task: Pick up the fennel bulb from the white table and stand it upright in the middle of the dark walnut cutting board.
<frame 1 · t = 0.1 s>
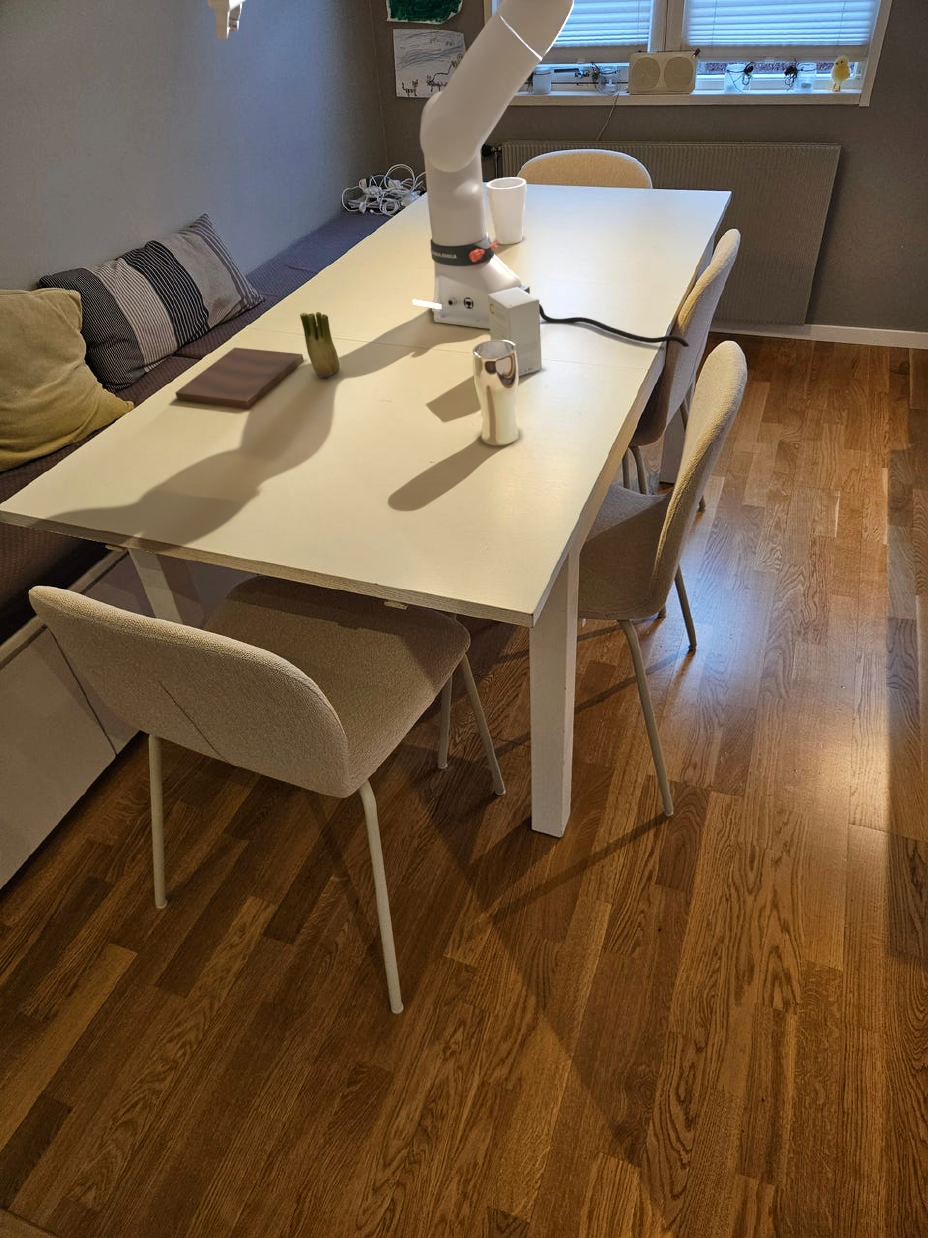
hand: (227, 34, 152), 52 cm above the table, tool tilted 20°, fingers open, 8 cm apart
fennel bulb: (327, 375, 165), on the table
beer glass: (500, 437, 141), on the table
foam cup: (509, 240, 214), on the table
small box: (516, 367, 160), on the table
cutting board: (242, 379, 167), on the table
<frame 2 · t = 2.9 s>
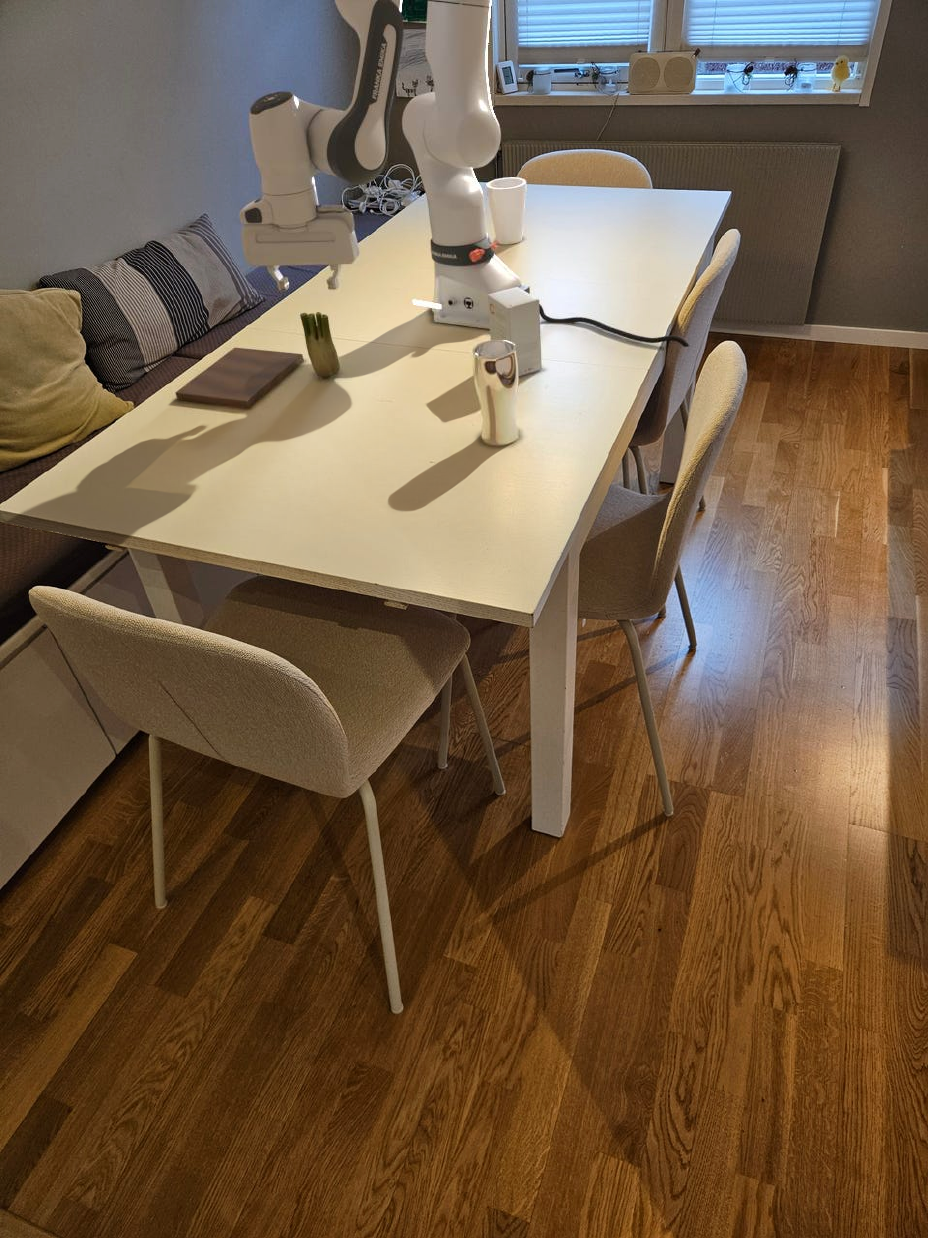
hand: (308, 288, 154), 16 cm above the table, tool pointing down, fingers open, 8 cm apart
nothing on the table moved.
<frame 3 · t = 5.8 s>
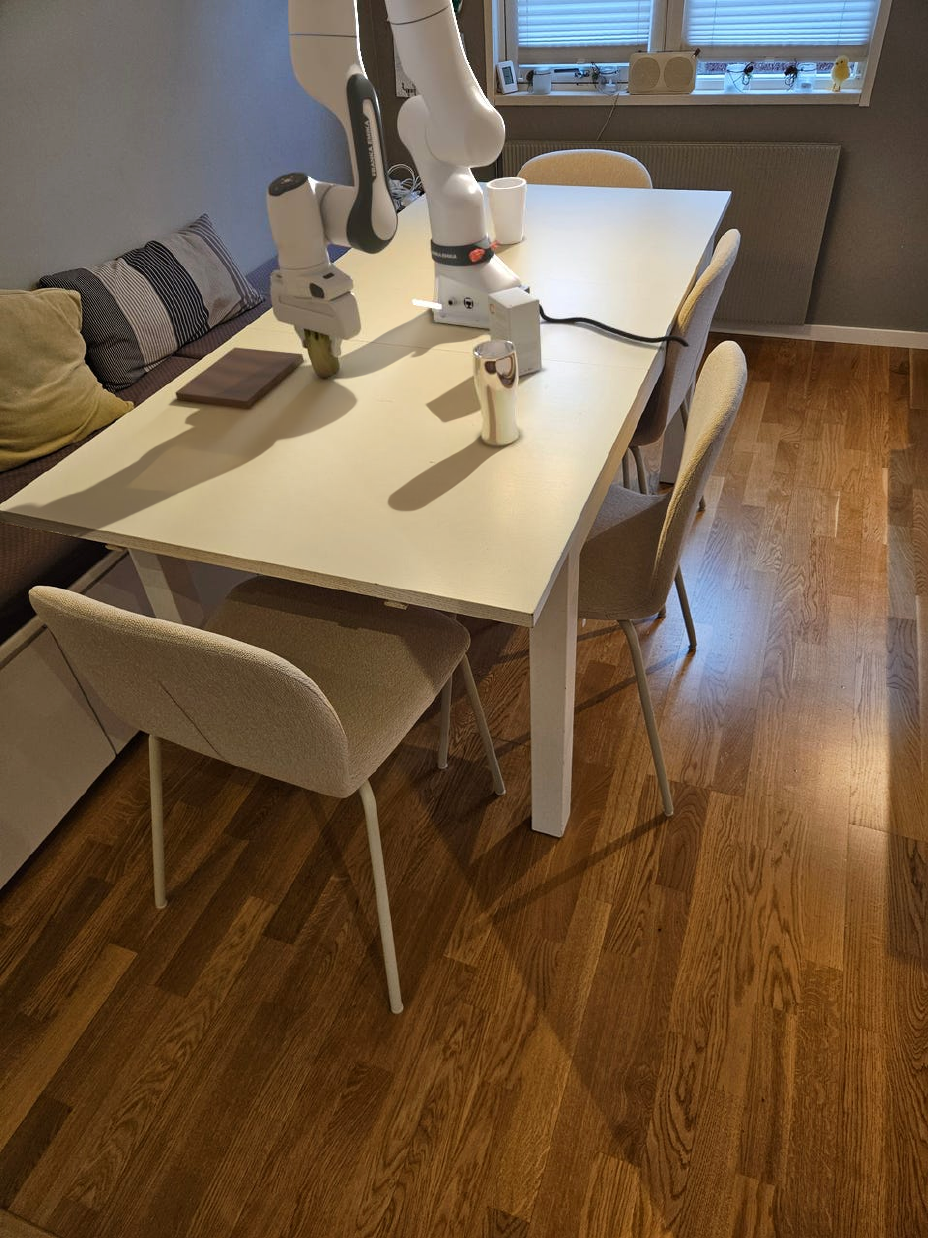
hand: (322, 351, 162), 5 cm above the table, tool pointing down, fingers closed on fennel bulb, 6 cm apart
fennel bulb: (327, 375, 165), on the table, touching gripper
everything else where it was.
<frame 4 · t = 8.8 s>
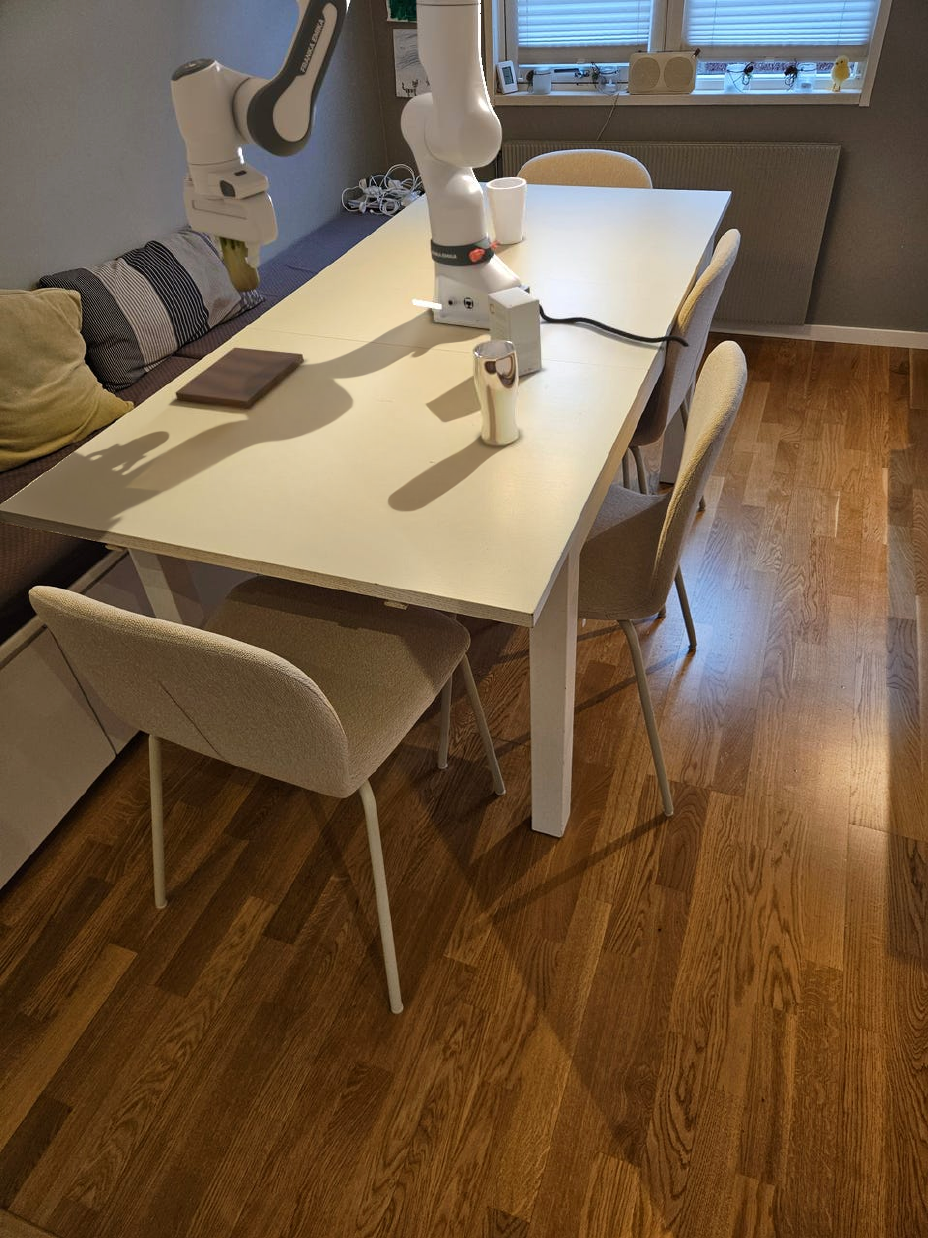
hand: (240, 263, 152), 22 cm above the table, tool pointing down, fingers closed on fennel bulb, 6 cm apart
fennel bulb: (247, 290, 155), point 17 cm above the table, touching gripper
everything else where it was.
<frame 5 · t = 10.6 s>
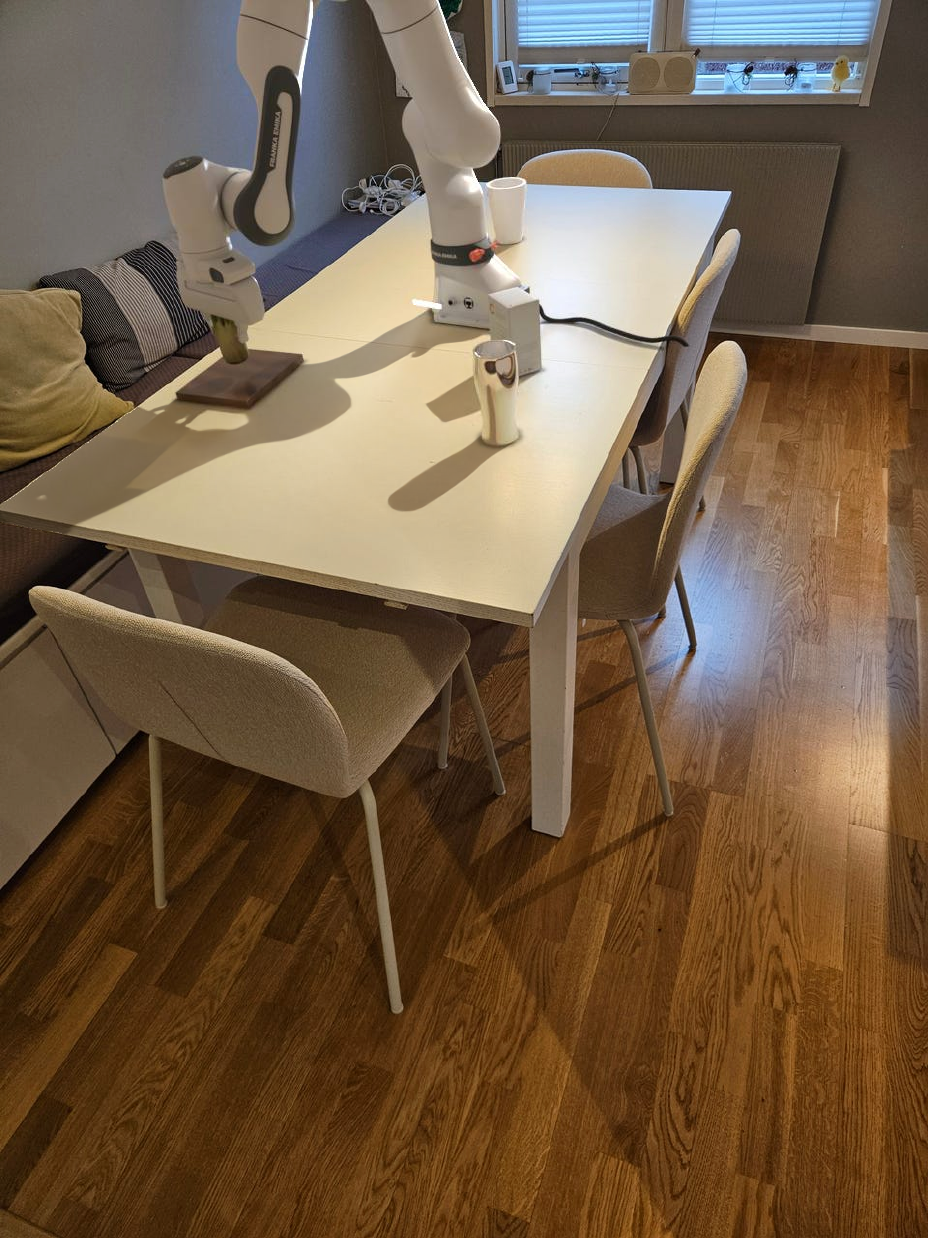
hand: (230, 337, 161), 8 cm above the table, tool pointing down, fingers closed on fennel bulb, 6 cm apart
fennel bulb: (237, 362, 164), point 4 cm above the table, touching gripper
everything else where it was.
when the fingers open (6 cm above the table, at t = 11.9 s): fennel bulb stays where it is, resting on cutting board.
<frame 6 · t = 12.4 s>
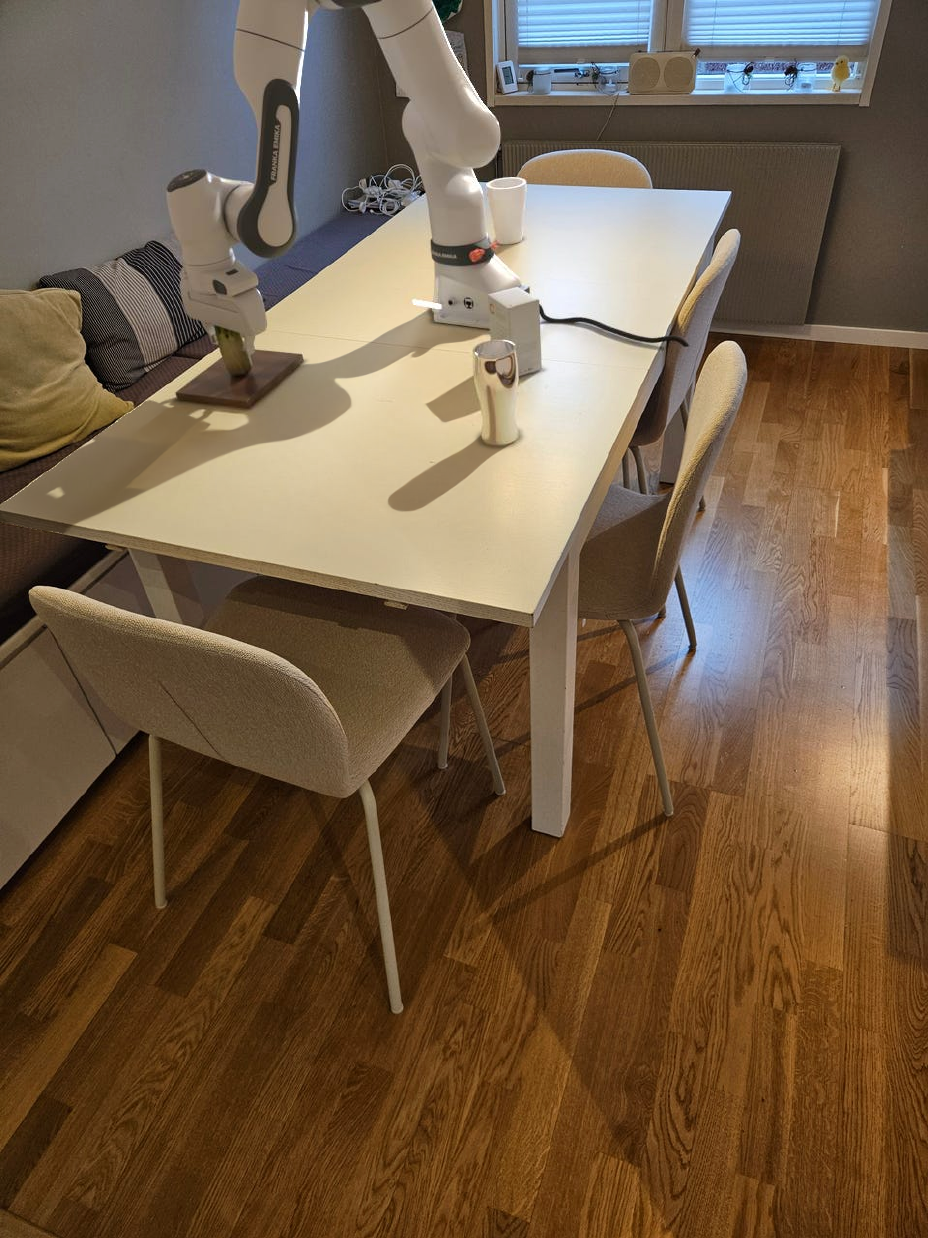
hand: (233, 348, 162), 6 cm above the table, tool pointing down, fingers open, 8 cm apart
fennel bulb: (241, 373, 166), point 1 cm above the table, touching cutting board
everything else where it was.
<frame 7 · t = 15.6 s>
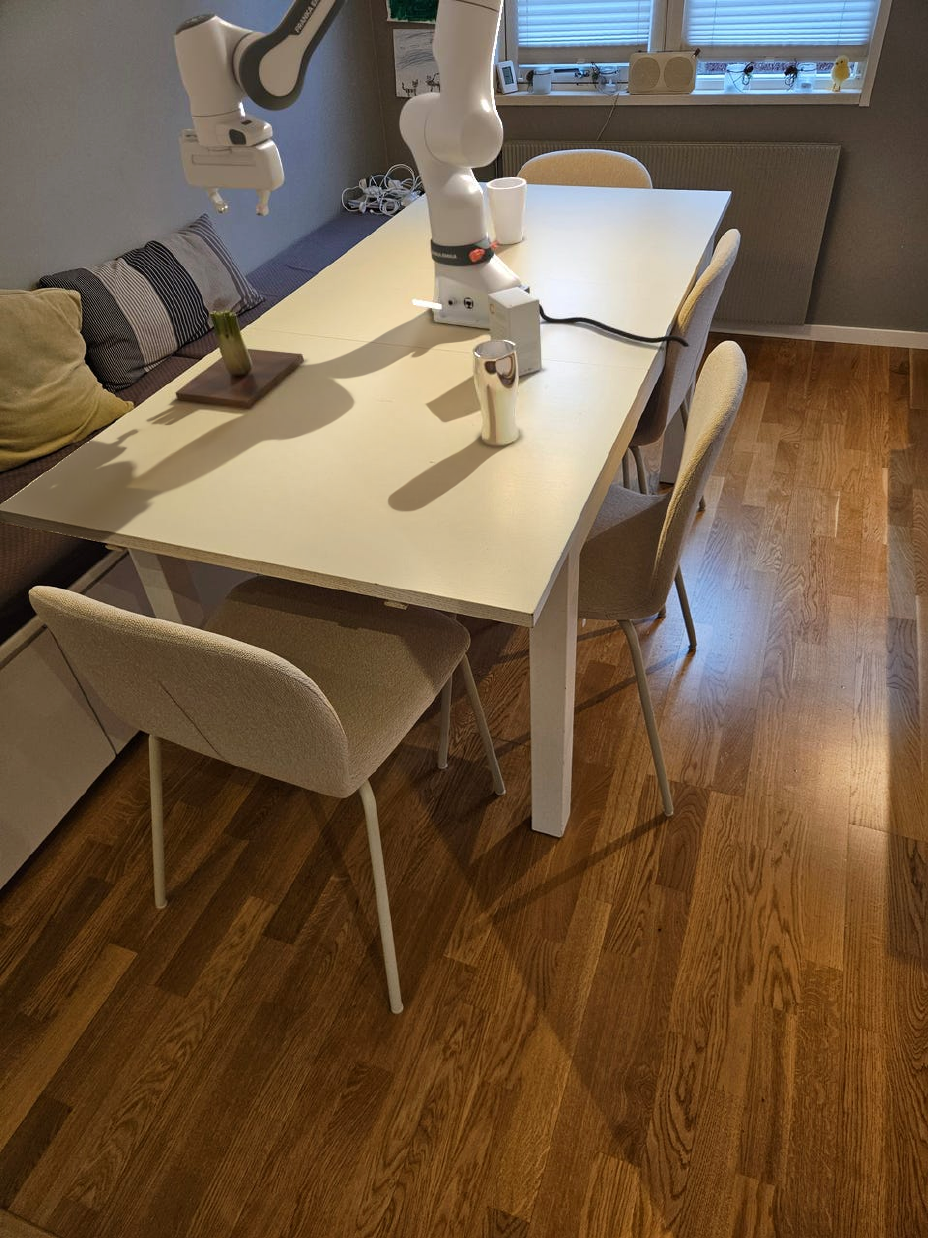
hand: (242, 213, 159), 26 cm above the table, tool pointing down, fingers open, 8 cm apart
nothing on the table moved.
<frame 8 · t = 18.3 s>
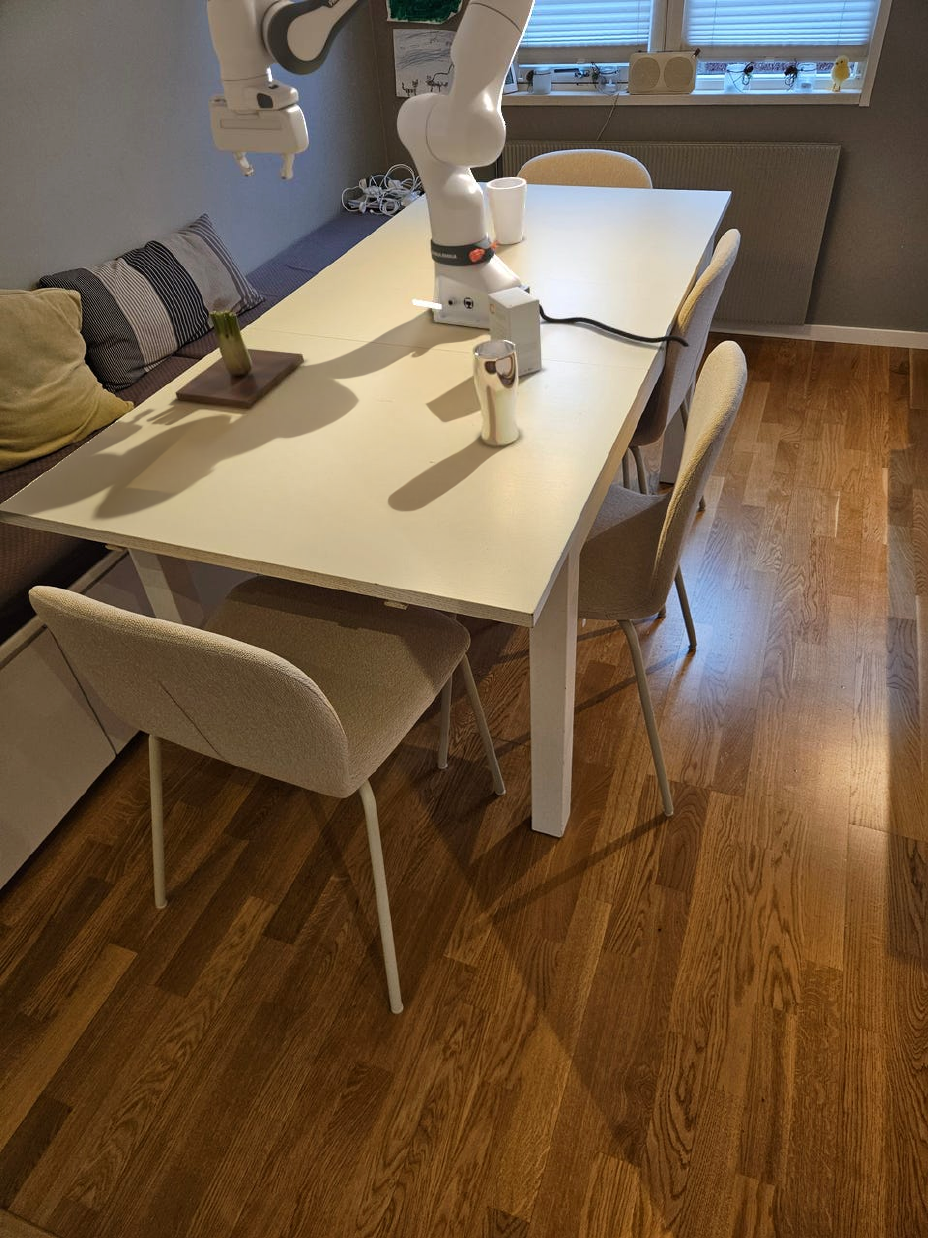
hand: (268, 176, 165), 29 cm above the table, tool pointing down, fingers open, 8 cm apart
nothing on the table moved.
at the end: fennel bulb inside the target area on the cutting board (0.1 cm from its centre), point 1.3 cm above the cutting board's base; fennel bulb tilted 0°; the gripper is holding nothing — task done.
